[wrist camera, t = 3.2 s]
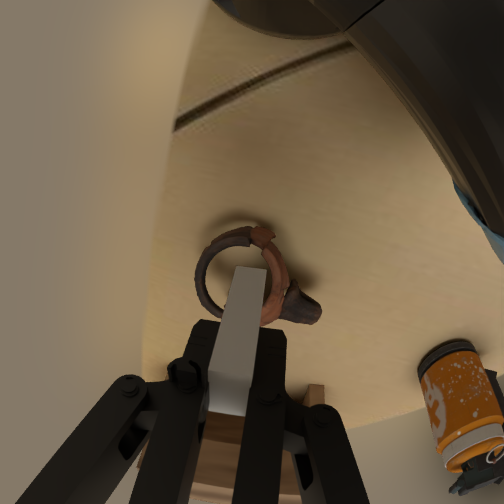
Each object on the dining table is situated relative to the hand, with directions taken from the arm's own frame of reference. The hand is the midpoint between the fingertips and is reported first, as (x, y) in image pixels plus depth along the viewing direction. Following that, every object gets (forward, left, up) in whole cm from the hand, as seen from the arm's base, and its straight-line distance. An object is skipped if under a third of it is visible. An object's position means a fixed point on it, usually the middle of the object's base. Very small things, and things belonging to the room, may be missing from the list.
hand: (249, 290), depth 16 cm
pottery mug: (+9, +1, -15) cm, 18 cm away
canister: (+19, +28, -14) cm, 37 cm away
